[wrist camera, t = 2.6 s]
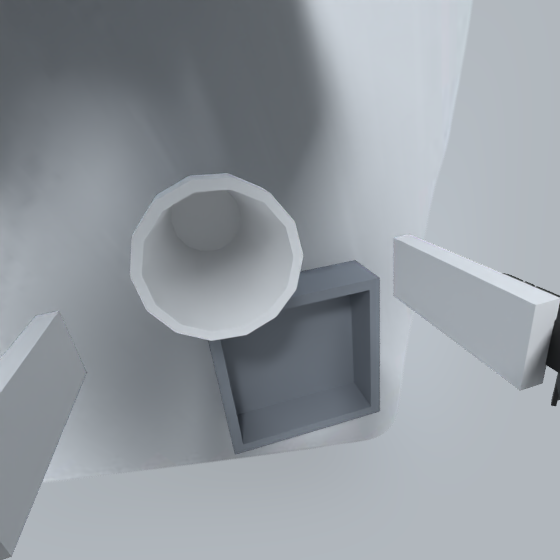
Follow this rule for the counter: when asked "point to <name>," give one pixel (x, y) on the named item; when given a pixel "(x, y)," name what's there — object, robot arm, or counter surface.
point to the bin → (305, 360)
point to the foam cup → (215, 257)
